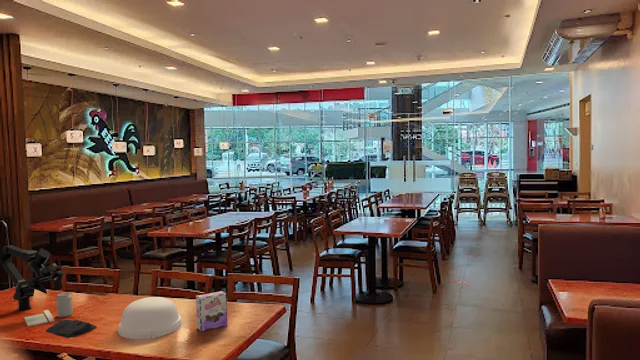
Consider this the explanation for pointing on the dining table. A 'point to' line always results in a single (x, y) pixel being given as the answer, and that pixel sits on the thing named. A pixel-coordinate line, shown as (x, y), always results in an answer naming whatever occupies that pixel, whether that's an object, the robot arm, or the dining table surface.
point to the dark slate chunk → (70, 328)
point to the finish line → (49, 315)
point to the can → (64, 304)
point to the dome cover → (149, 318)
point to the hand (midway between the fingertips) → (54, 290)
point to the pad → (35, 320)
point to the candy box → (211, 310)
